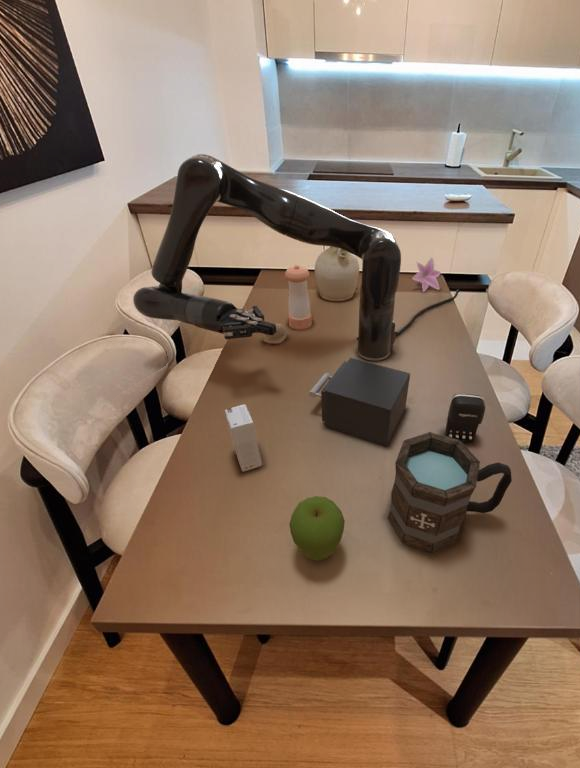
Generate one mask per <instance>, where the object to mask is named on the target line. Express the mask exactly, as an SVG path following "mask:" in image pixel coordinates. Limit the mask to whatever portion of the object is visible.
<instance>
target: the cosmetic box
mask: <svg viewBox="0 0 580 768" xmlns="http://www.w3.org/2000/svg"><path fill="white" fill-rule="evenodd" d="M224 414H225V418H226V421H227V425H228V428H229V432H230V436H231V439H232V443H233V447H234V450H235V455H236V458H237V461H238V464H239V467H240V470H241V472H247V471H251V470H254V469H257V468H259V467H262V465H263V462H262V457H261V453H260V448H259V443H258V439H257V433H256V430H255V425H254V421H253V418H252V416H251V413H250V411H249V408H248V407H247V405H246V403H245V404H240V405H236V406H233V407H230V408H226V409H224Z"/></svg>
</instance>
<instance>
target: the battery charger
mask: <svg viewBox="0 0 580 768" xmlns="http://www.w3.org/2000/svg"><path fill="white" fill-rule="evenodd" d="M485 412H486V403H485V399H484V398H483V397H482V396H481V395H479V394H471V393H455V394H453V396H452V397H451V399H450V402H449V405H448V410H447V415H446V422H445V427H444V429H443V434H444V436H446V437H450V438H454V439H457V440H460V441H461V442H462V443H473V442H475V440H476V434H477V431H478V428H479V425H481V424H482V422H483V420H484V416H485Z"/></svg>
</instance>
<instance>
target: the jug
mask: <svg viewBox="0 0 580 768" xmlns="http://www.w3.org/2000/svg"><path fill="white" fill-rule="evenodd" d="M314 275H315V280H316V286H317V289H318V290H317V291H318V292H319V296H320V297H321V298H322V299H323V300H326V301H330V302H345V301H347V300H350V299H352V298H353V296H354V294H355V291H356V288H357V285H358V280H359V275H360V263H359V260H358V257H357V256H355V255H354V254H351V253H349V252H347V251H345V250H342V249H340V248H336V247H331V246H329V247H328V248H325V249H324V250H323V251H321V252H320V253H319V254H318V255H317V258H316V260H315V263H314Z"/></svg>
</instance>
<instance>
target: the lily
mask: <svg viewBox="0 0 580 768" xmlns="http://www.w3.org/2000/svg"><path fill="white" fill-rule="evenodd" d="M416 267H417V269H418V272H417V273H415V274H414V275H413V276H412V278H411V279H412V280H413V281H415V282H418V283H421V287H422V292H423V293H425V292H426V291H427V289H428V288H429V286H430V287H431V288H433V289H436V290H438V291H439V290H440V285H439V282H438V279H437V278H438V277H439V276H440V275H441V274H442V272H441V271H439V270H435V261H434V258H433V257H430V258H429V260H428V261H427V262H426V264H422V263H420V262H418V261H417V262H416Z"/></svg>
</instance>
